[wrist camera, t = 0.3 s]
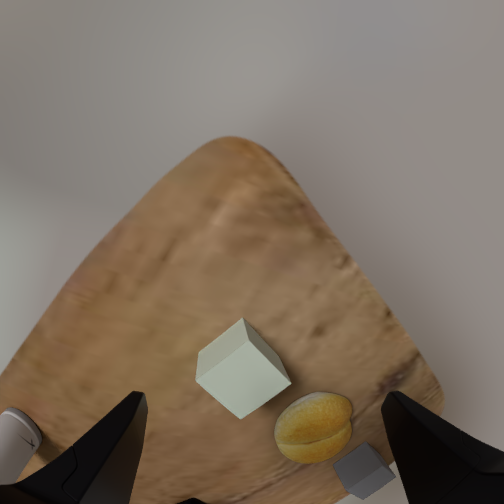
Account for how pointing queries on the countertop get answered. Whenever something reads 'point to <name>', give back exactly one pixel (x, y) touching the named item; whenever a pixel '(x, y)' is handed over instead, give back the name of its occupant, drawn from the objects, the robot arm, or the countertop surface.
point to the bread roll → (314, 427)
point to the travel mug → (16, 443)
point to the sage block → (241, 370)
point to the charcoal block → (363, 471)
